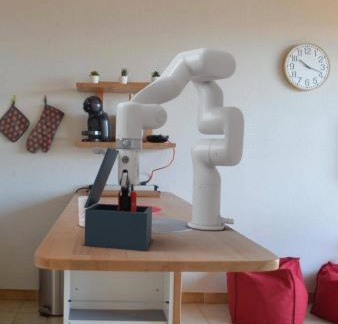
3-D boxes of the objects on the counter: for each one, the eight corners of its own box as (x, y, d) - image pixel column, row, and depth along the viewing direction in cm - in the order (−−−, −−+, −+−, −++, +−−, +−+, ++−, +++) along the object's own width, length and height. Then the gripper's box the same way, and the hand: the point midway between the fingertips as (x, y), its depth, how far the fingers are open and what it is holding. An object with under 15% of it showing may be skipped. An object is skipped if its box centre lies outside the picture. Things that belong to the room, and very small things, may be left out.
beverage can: (123, 234, 108) (124, 191, 108) (114, 231, 113) (115, 190, 112) (139, 233, 111) (140, 191, 110) (129, 229, 115) (130, 189, 115)
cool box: (151, 239, 117) (152, 206, 117) (145, 250, 103) (146, 213, 103) (96, 235, 121) (97, 203, 121) (84, 245, 108) (85, 209, 107)
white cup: (97, 228, 133) (98, 199, 132) (75, 226, 134) (75, 198, 134) (101, 224, 140) (102, 196, 140) (80, 222, 142) (80, 195, 142)
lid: (119, 149, 119) (103, 142, 120) (110, 148, 105) (91, 141, 106) (98, 202, 121) (82, 195, 122) (86, 208, 107) (68, 200, 109)
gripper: (137, 145, 102) (135, 214, 102) (145, 146, 118) (143, 206, 119) (109, 145, 104) (108, 212, 104) (121, 146, 120) (119, 204, 121)
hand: (127, 208), depth 111 cm, fingers closed on beverage can, 5 cm apart
